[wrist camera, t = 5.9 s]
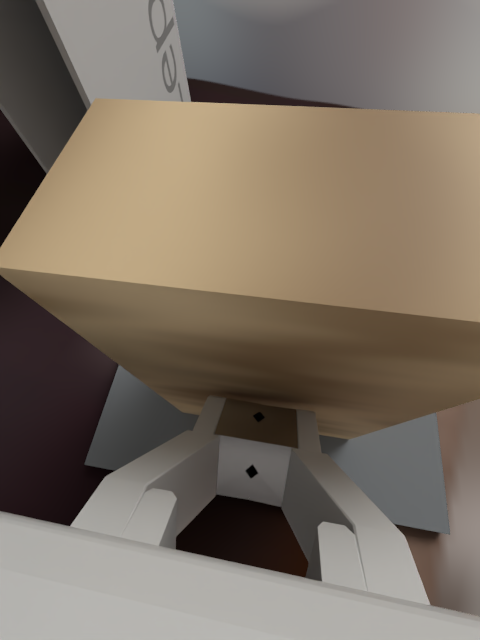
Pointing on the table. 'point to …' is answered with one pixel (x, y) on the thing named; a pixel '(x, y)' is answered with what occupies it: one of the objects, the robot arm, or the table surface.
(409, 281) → the wood block
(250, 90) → the table surface
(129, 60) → the brochure
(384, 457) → the rubber mat
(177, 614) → the robot arm
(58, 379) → the table surface
